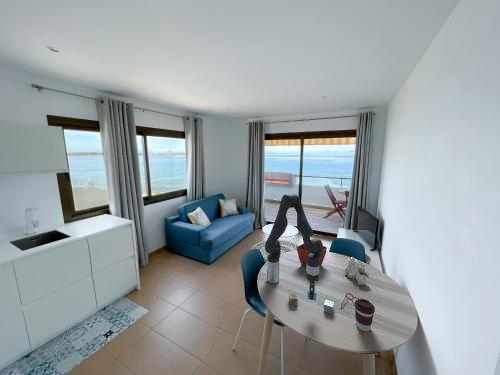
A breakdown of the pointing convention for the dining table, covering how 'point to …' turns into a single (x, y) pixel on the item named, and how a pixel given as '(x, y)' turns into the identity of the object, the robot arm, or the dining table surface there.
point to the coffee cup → (364, 314)
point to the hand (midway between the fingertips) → (311, 296)
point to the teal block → (309, 295)
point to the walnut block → (293, 299)
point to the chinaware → (356, 271)
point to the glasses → (348, 298)
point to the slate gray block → (328, 306)
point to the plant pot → (303, 255)
